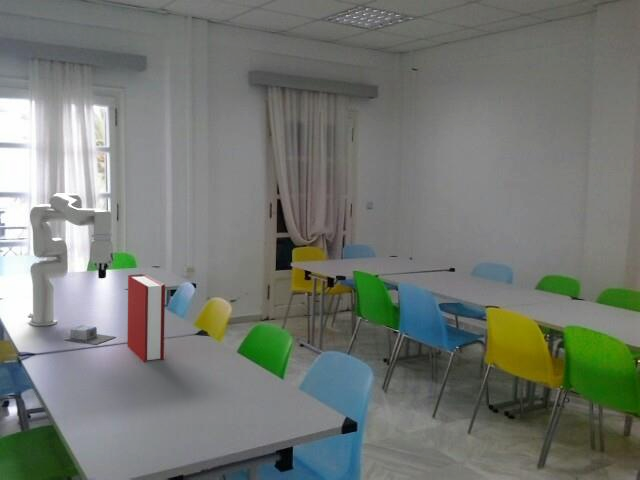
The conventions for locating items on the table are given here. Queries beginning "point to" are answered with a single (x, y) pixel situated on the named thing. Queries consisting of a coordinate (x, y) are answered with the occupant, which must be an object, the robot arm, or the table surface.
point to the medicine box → (83, 332)
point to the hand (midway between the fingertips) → (102, 277)
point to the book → (146, 317)
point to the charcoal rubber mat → (93, 339)
